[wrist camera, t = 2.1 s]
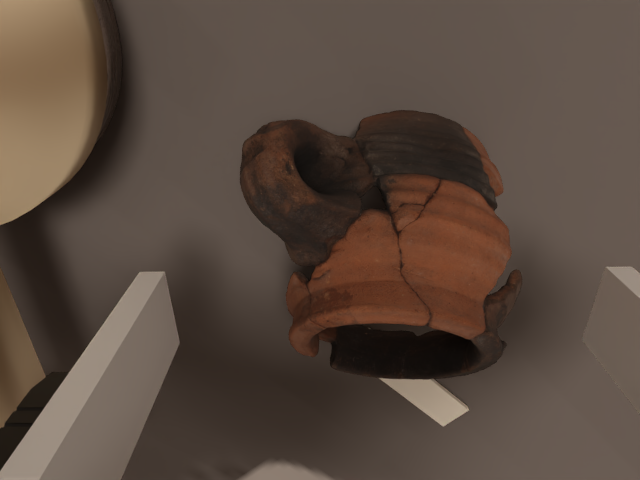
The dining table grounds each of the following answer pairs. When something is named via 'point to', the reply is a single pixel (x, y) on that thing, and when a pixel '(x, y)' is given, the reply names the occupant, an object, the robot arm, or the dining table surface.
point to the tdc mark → (429, 398)
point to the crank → (42, 137)
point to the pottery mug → (387, 241)
